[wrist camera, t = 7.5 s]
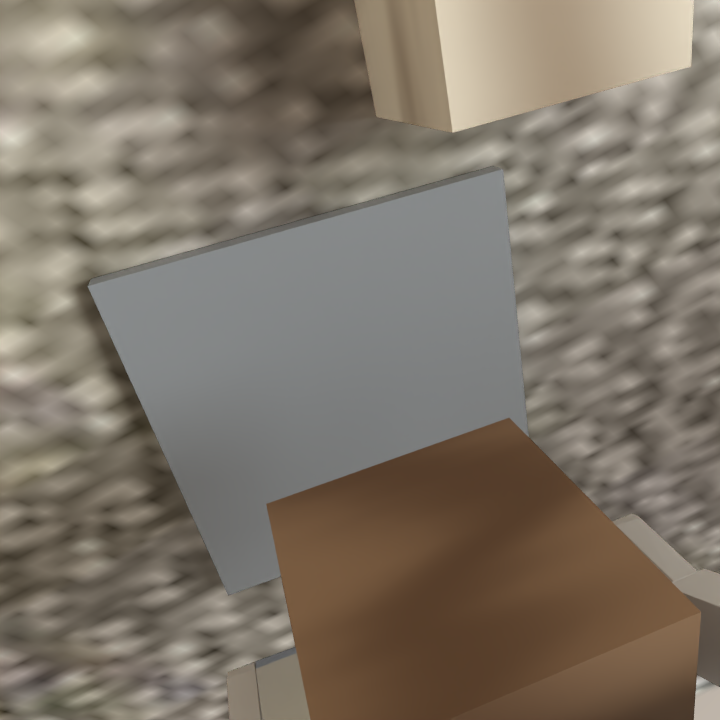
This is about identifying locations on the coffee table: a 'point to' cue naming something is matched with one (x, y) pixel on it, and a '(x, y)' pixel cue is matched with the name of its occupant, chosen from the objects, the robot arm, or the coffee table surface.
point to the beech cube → (512, 54)
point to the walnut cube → (478, 594)
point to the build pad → (320, 351)
